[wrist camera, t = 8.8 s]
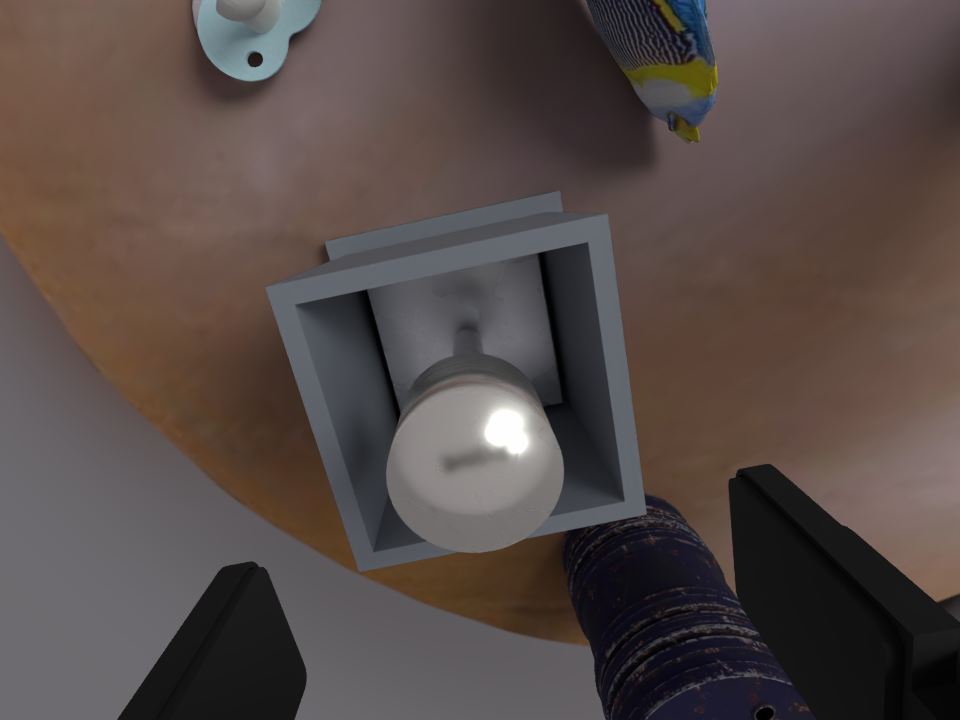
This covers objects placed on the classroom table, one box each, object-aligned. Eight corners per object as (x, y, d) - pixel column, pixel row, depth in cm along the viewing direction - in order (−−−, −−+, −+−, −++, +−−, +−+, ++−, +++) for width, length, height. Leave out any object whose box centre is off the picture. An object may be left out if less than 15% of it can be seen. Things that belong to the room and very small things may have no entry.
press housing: (556, 191, 30) (633, 176, 17) (590, 405, 34) (673, 530, 21) (328, 240, 31) (226, 264, 17) (387, 446, 35) (342, 596, 21)
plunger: (532, 240, 28) (619, 277, 13) (559, 396, 31) (657, 580, 16) (367, 276, 28) (259, 354, 13) (408, 428, 31) (358, 639, 16)
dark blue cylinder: (643, 622, 40) (747, 855, 25) (535, 575, 38) (581, 795, 24) (718, 524, 37) (878, 718, 23) (606, 468, 36) (704, 641, 22)
